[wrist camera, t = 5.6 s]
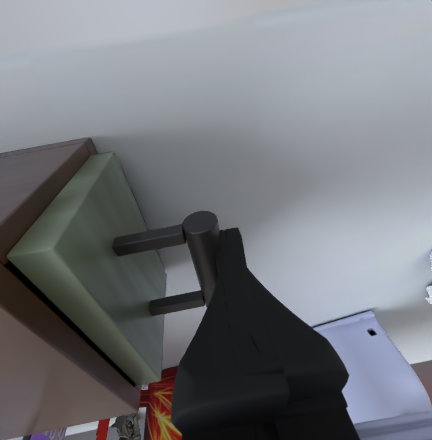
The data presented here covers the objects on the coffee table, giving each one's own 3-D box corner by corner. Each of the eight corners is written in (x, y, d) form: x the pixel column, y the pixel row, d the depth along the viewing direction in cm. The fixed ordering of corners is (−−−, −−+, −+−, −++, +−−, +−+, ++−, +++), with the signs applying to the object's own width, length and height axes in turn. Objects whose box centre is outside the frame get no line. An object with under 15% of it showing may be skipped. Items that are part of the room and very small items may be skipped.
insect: (118, 452, 38) (139, 459, 37) (95, 438, 33) (119, 445, 32) (130, 422, 41) (150, 427, 40) (110, 405, 37) (133, 410, 35)
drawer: (200, 134, 11) (220, 215, 6) (222, 263, 17) (243, 364, 11) (-127, 194, 11) (-439, 341, 5) (10, 305, 16) (-73, 429, 11)
